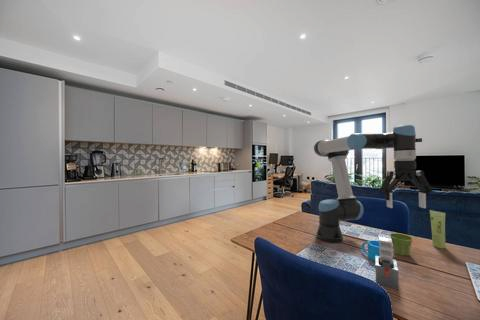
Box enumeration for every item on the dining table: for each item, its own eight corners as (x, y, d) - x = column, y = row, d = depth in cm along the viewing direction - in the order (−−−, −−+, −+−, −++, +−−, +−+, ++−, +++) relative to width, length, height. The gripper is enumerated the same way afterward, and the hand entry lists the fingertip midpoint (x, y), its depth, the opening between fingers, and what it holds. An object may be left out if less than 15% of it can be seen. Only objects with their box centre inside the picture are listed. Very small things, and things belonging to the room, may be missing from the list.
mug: (392, 263, 91) (392, 245, 91) (381, 267, 87) (381, 249, 87) (367, 252, 102) (367, 236, 102) (356, 255, 98) (356, 239, 99)
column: (380, 281, 75) (379, 240, 75) (380, 274, 79) (379, 236, 79) (393, 285, 72) (392, 243, 73) (392, 278, 77) (391, 238, 77)
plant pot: (408, 259, 93) (407, 241, 93) (386, 251, 102) (385, 235, 102) (417, 254, 98) (416, 237, 98) (395, 247, 106) (395, 231, 106)
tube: (431, 246, 106) (430, 211, 106) (430, 243, 110) (429, 209, 110) (446, 249, 103) (445, 213, 103) (444, 246, 106) (443, 211, 107)
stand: (358, 283, 76) (358, 258, 76) (360, 269, 86) (360, 247, 86) (420, 301, 66) (419, 273, 66) (414, 283, 76) (413, 258, 76)
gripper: (380, 160, 84) (381, 209, 84) (443, 159, 81) (444, 209, 81) (370, 160, 91) (371, 205, 91) (427, 159, 89) (428, 205, 89)
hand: (405, 207), depth 86 cm, fingers open, 13 cm apart
